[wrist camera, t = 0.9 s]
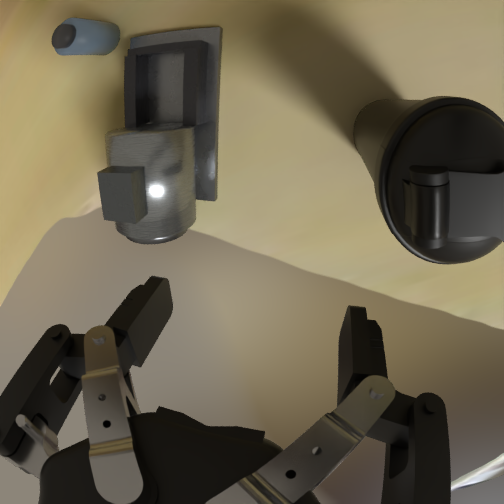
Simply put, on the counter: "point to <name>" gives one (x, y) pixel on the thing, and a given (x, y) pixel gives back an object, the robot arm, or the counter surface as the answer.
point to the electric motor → (164, 136)
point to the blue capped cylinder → (85, 37)
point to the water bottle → (436, 174)
